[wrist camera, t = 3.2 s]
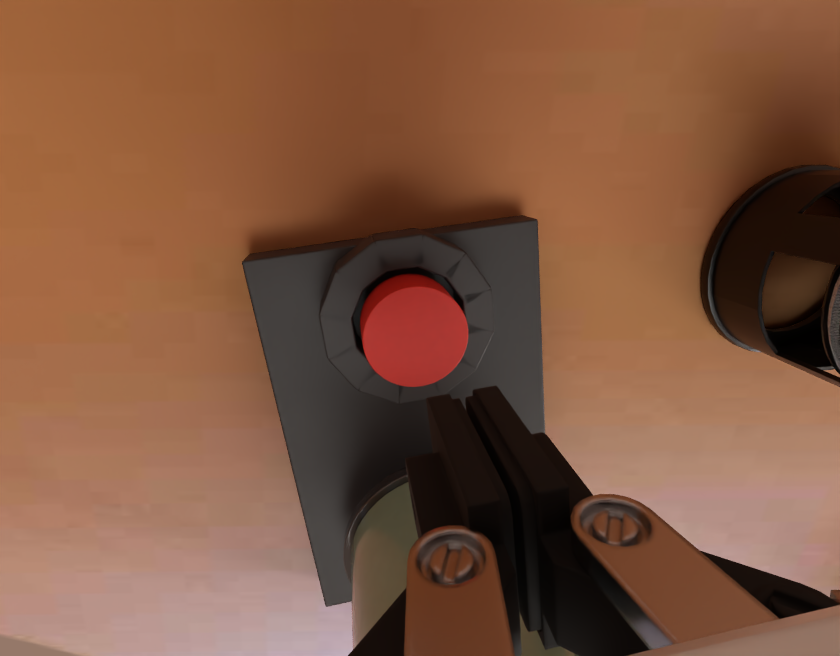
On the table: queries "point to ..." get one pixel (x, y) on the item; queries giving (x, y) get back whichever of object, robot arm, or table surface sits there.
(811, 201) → the french press
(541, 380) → the base
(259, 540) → the table surface
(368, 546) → the kettle
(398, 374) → the power button
